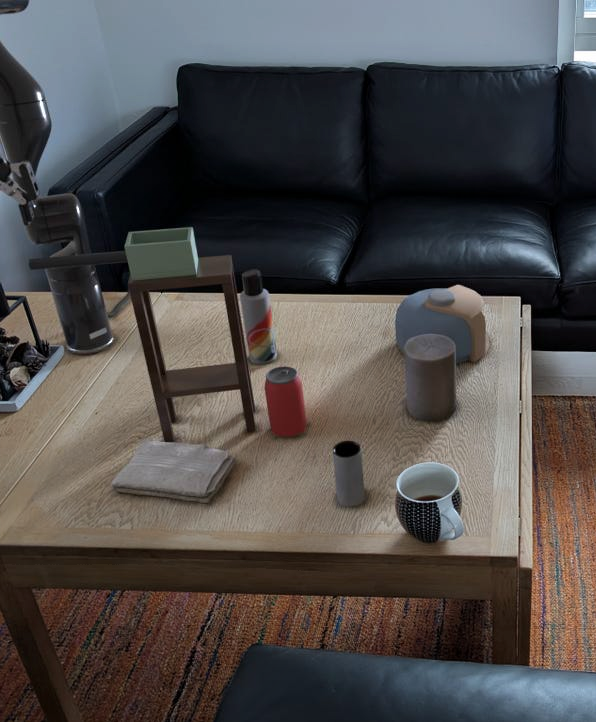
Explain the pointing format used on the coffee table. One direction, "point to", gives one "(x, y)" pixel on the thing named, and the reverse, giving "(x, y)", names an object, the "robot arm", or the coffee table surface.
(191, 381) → the stand
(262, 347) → the lotion bottle
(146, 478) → the washcloth
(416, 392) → the pillar candle
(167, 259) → the green box scoop
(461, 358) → the alarm clock
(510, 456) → the coffee table surface
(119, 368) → the coffee table surface
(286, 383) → the beer can
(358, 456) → the grey black cylinder
